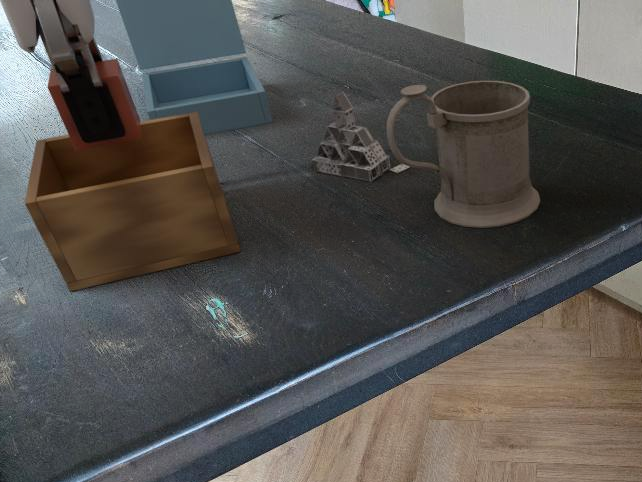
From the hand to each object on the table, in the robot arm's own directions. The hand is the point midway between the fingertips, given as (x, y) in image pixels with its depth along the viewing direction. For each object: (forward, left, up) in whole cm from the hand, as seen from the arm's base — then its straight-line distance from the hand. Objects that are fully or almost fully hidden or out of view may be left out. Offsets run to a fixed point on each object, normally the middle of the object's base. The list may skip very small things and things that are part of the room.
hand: (104, 124), depth 60 cm
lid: (+8, +35, +3) cm, 36 cm away
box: (+8, +27, -10) cm, 30 cm away
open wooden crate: (0, -1, -10) cm, 10 cm away
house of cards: (+22, +5, -10) cm, 25 cm away
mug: (+27, -10, -10) cm, 31 cm away
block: (0, 0, -1) cm, 1 cm away
